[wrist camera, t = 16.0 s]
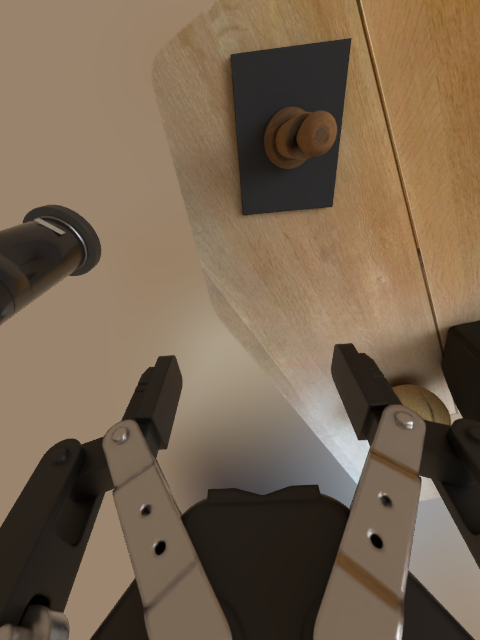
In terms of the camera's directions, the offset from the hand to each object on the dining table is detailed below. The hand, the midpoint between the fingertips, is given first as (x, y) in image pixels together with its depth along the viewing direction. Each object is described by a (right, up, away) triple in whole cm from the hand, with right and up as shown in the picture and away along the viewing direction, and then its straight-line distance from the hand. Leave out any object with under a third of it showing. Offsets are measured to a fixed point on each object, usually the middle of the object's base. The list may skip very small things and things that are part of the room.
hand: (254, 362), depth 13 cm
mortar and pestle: (+6, +27, +22) cm, 35 cm away
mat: (+6, +27, +22) cm, 36 cm away
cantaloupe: (+40, -16, +52) cm, 68 cm away
